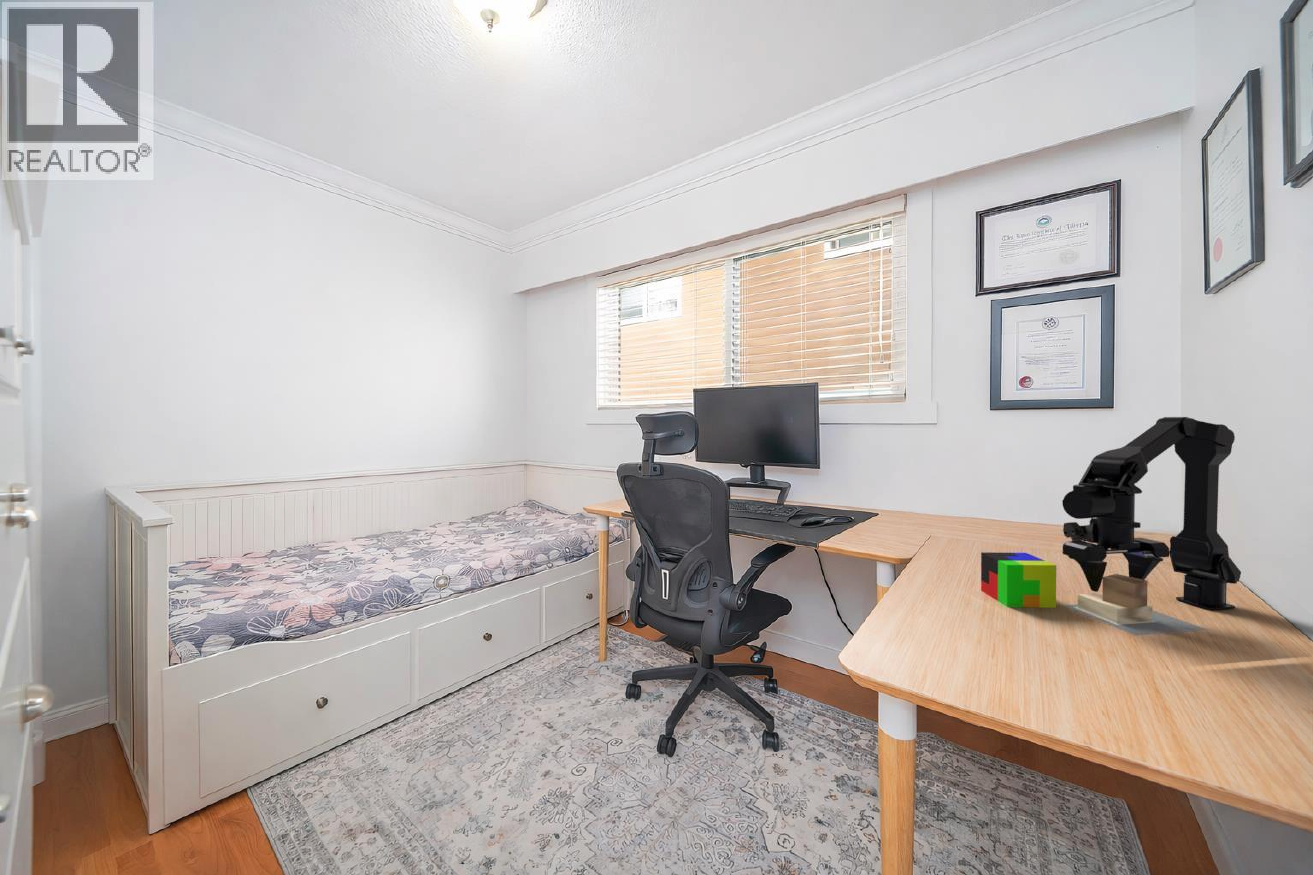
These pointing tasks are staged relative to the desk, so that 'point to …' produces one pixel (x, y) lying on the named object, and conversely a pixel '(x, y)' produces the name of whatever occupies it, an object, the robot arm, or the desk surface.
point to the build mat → (1146, 623)
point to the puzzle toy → (1018, 579)
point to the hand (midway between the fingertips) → (1114, 589)
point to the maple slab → (1113, 609)
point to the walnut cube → (1125, 591)
